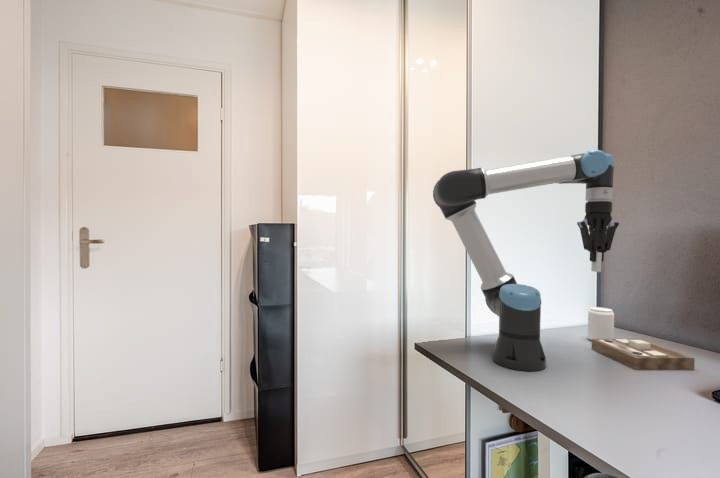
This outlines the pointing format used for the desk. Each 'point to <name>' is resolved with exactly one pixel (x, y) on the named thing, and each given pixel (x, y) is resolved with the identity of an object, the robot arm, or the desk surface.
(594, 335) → the white cylindrical container
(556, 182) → the robot arm
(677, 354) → the board
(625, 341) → the button left
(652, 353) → the button right
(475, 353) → the desk surface
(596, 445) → the desk surface
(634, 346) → the button mid
